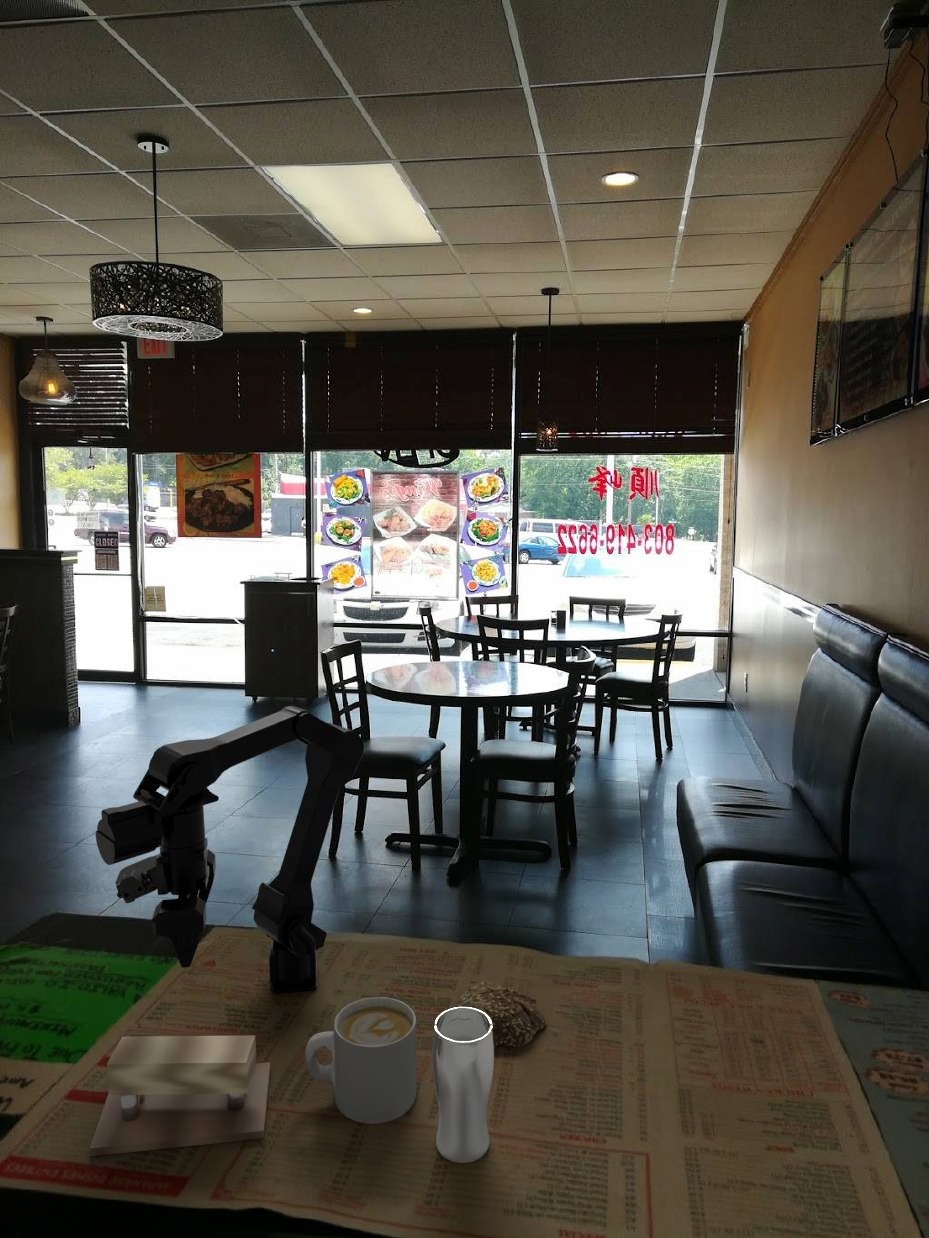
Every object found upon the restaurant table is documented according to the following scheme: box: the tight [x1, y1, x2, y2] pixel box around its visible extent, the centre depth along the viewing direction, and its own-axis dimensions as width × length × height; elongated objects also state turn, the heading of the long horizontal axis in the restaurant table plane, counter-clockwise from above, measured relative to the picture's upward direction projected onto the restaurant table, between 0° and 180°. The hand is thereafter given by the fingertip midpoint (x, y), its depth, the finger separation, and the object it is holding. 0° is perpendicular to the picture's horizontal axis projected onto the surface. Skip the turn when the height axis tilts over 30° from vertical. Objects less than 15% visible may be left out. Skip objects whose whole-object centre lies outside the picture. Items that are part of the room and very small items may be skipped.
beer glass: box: [431, 1007, 495, 1164], centre depth 100 cm, size 7×7×15 cm
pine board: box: [106, 1035, 257, 1095], centre depth 105 cm, size 16×5×4 cm, turn 91°
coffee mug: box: [304, 996, 417, 1125], centre depth 109 cm, size 13×10×10 cm
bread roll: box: [454, 981, 547, 1048], centre depth 123 cm, size 13×12×5 cm
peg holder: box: [89, 1061, 271, 1157], centre depth 106 cm, size 19×12×4 cm, turn 99°
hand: (189, 948), depth 120 cm, fingers open, 9 cm apart
